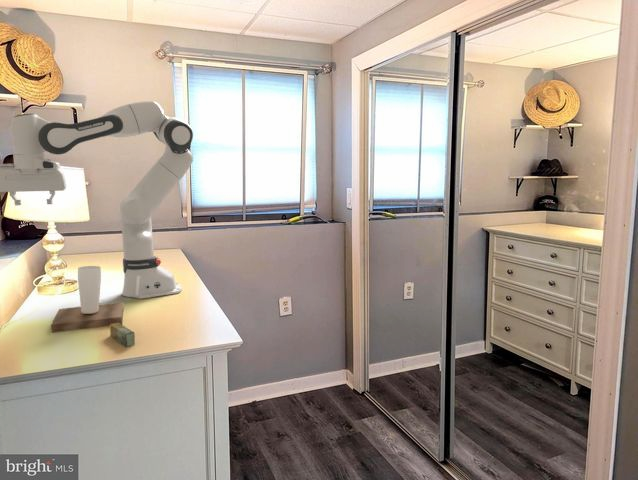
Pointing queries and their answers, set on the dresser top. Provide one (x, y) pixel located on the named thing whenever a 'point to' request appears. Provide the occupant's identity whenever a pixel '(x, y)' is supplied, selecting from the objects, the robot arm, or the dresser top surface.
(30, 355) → the dresser top surface
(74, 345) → the dresser top surface
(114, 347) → the dresser top surface
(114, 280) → the dresser top surface
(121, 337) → the medication box
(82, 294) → the drinking glass
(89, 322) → the walnut board
